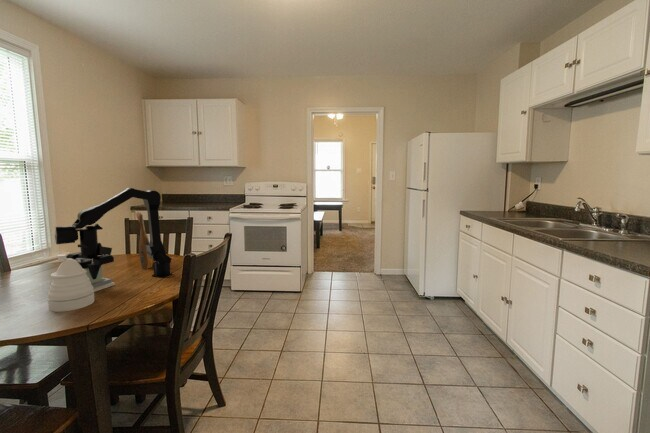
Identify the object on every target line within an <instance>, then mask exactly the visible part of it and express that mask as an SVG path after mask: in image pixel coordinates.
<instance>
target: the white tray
mask: <svg viewBox="0 0 650 433" xmlns="http://www.w3.org/2000/svg"><path fill="white" fill-rule="evenodd" d="M102 278H103V280H102V281H99V282H95V283H92V284H91V285H92V286H93V290H94V291H93V292H94V293H95V292H99V291H100V290H104V289H106V288H109V287H113V286H115V282H113V281H112V278H106V277H102Z"/></svg>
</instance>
